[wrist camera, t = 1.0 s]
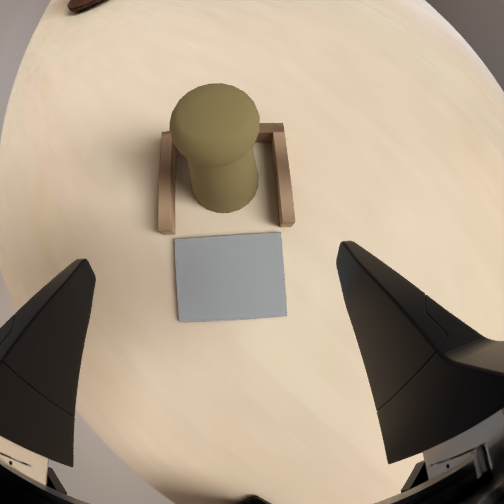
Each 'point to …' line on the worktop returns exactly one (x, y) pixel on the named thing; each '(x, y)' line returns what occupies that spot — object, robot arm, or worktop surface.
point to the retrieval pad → (230, 277)
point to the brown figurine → (80, 4)
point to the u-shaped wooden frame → (266, 134)
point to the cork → (218, 145)
